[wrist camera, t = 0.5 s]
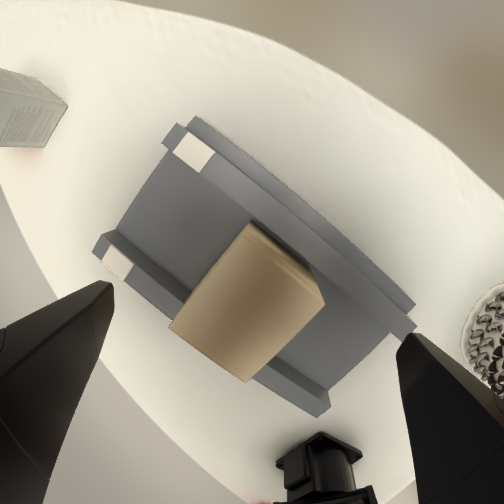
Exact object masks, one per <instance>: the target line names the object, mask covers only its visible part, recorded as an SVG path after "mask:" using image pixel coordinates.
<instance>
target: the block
mask: <svg viewBox="0 0 504 504" xmlns="http://www.w3.org/2000/svg"><path fill="white" fill-rule="evenodd" d="M324 305H325V303H324V300H323V298H322V295H321V292H320V290H319V287H318V285H317V282H316V280H315V277H314V275H313V272H312V270H311V268H310V267H309V266H307V265H306V264H305V263H304V262H303V261H301V260H300V259H299V258H298V257H297V256H295V255H294V254H293V253H292V252H290V251H289V250H288V249H287V248H286V247H284V246H283V245H282V244H281V243H280V242H278V241H277V240H276V239H275V238H273V237H272V236H271V235H270V234H269V233H267V232H266V231H265V230H264V229H262V228H261V227H260V226H259V225H258V224H256V223H255V222H254V221H253V220H250V221H249V222H248V223H247V225H246V226H245V227H244V228H243V230H242V231H241V232H240V233H239V234H238V236H237V237H236V238H235V239H234V241H233V242H232V243H231V244H230V245H229V247H228V248H227V249H226V250H225V252H224V253H223V254H222V255H221V257H220V258H219V259H218V260H217V262H216V263H215V264H214V265H213V266H212V268H211V269H210V270H209V271H208V273H207V274H206V275H205V276H204V278H203V279H202V280H201V281H200V283H199V284H198V285H197V286H196V288H195V289H194V291H193V292H192V293H191V295H190V296H189V298H188V299H187V301H186V302H185V304H184V305H183V307H182V308H181V309H180V311H179V312H178V314H177V315H176V317H175V318H174V320H173V321H172V323H171V324H170V326H169V327H168V328H169V329H170V330H172V331H173V332H174V333H175V334H177V335H178V336H179V337H181V338H182V339H183V340H185V341H186V342H187V343H189V344H190V345H191V346H193V347H194V348H196V349H197V350H198V351H200V352H201V353H202V354H204V355H205V356H207V357H208V358H209V359H211V360H212V361H214V362H215V363H216V364H218V365H219V366H221V367H222V368H224V369H225V370H227V371H228V372H230V373H231V374H232V375H234V376H235V377H237V378H238V379H240V380H241V381H243V382H244V383H246V382H247V381H248V380H249V379H250V378H252V377H253V376H254V375H255V374H256V373H257V372H258V371H259V370H260V369H261V368H262V367H263V366H264V365H265V364H267V363H268V362H269V361H270V360H271V359H272V358H273V357H274V356H275V355H276V354H277V353H278V352H279V351H280V350H281V349H282V348H283V347H284V346H285V345H286V344H287V343H288V342H289V341H290V340H291V339H292V338H293V337H294V336H295V335H296V334H297V333H298V332H299V331H300V330H301V329H302V328H303V327H304V326H305V325H306V324H307V323H308V322H309V321H310V320H311V319H312V318H313V317H314V316H315V315H316V314H317V313H318V312H319V311H320V310H321V309H322V308H323V307H324Z"/></svg>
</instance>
